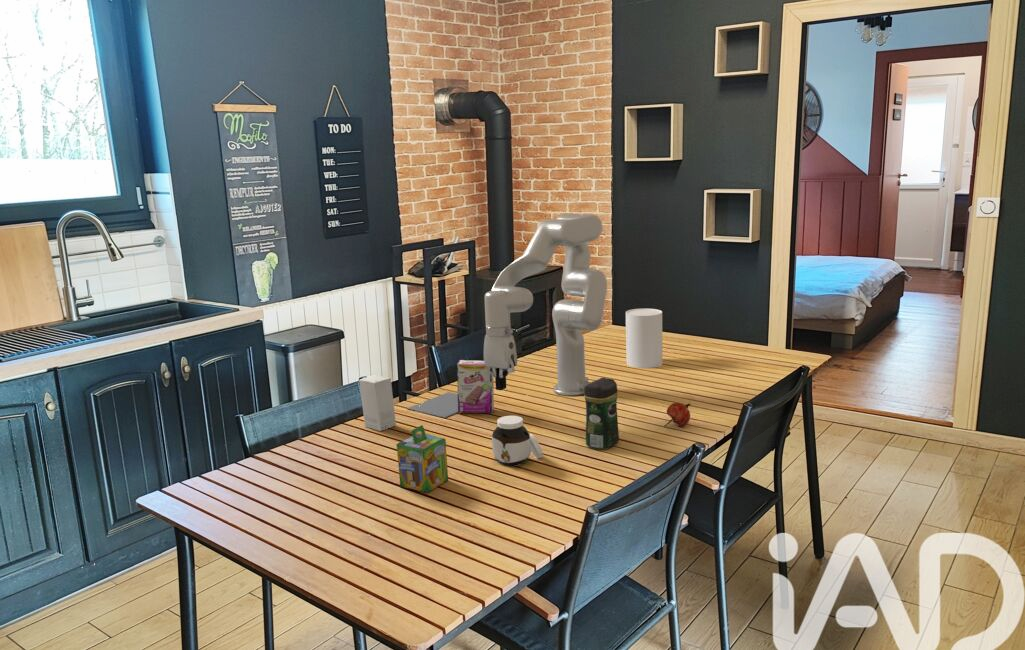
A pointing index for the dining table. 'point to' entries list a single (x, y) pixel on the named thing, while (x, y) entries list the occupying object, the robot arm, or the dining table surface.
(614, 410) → the coffee jar
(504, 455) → the spread jar
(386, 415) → the skincare box
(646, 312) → the canister
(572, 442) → the dining table surface
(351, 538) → the dining table surface
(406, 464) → the chalk box
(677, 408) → the pomegranate
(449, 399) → the slate mat
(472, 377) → the candy bar box
